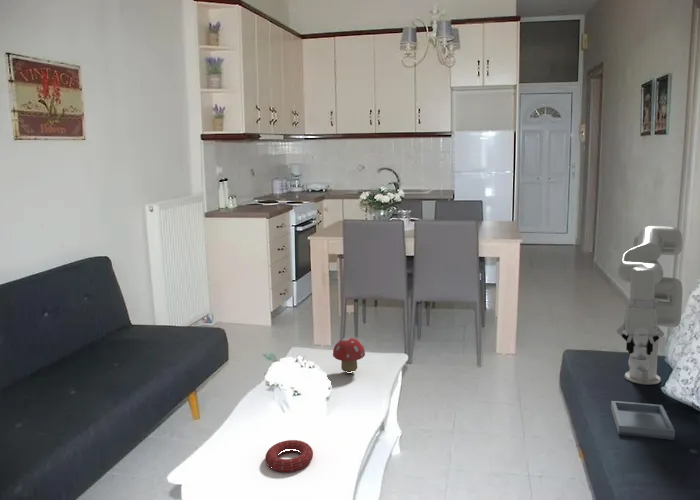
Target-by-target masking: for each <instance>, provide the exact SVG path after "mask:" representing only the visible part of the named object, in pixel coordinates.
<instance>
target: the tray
mask: <svg viewBox="0 0 700 500" xmlns="http://www.w3.org/2000/svg"><path fill="white" fill-rule="evenodd" d="M610 411H611V413H612V417H613V420H614V424H615V427H616V431H617V434H618V435H620V436H630V437H640V438H648V439H649V438H650V439H659V440H671V441H675V438H676V437H675V436H676V430H675V428H674V426H673V424H672V422H671V420H670V418H669V416H668V413H667V412H666V410H665V408H664V406H663V404H653V403H642V402H632V401H631V402H629V401H621V400H620V401H619V400H611V402H610Z"/></svg>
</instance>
